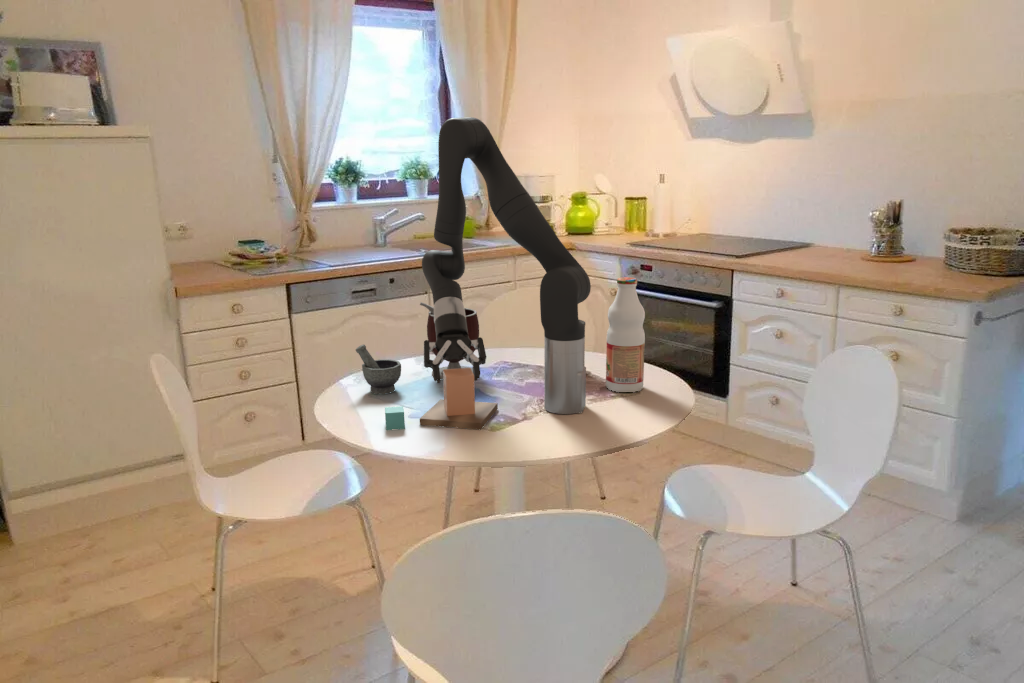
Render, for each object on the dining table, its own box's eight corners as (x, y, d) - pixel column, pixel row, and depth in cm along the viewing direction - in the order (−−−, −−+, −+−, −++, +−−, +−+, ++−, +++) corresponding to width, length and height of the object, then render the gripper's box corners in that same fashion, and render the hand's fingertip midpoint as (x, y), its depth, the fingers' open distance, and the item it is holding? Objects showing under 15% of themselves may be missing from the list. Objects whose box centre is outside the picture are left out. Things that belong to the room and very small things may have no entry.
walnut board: (497, 409, 180) (497, 403, 180) (480, 429, 167) (480, 423, 167) (440, 405, 184) (440, 399, 183) (419, 425, 170) (419, 418, 170)
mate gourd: (479, 366, 217) (478, 296, 212) (480, 380, 203) (478, 306, 198) (424, 368, 216) (421, 297, 211) (421, 382, 202) (418, 307, 198)
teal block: (403, 423, 172) (403, 406, 171) (404, 429, 168) (404, 411, 167) (385, 424, 171) (384, 407, 170) (386, 430, 167) (385, 413, 166)
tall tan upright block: (470, 405, 179) (470, 367, 176) (475, 413, 173) (474, 375, 171) (444, 407, 177) (442, 369, 175) (447, 415, 172) (446, 377, 169)
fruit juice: (625, 396, 189) (628, 283, 182) (597, 387, 196) (599, 278, 189) (651, 388, 195) (654, 278, 188) (623, 380, 202) (625, 274, 195)
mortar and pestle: (405, 385, 200) (403, 340, 197) (399, 396, 191) (397, 349, 188) (361, 385, 200) (359, 340, 197) (353, 396, 191) (351, 349, 188)
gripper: (420, 313, 179) (426, 374, 171) (481, 310, 181) (490, 370, 173) (419, 330, 185) (425, 390, 177) (478, 327, 188) (487, 386, 180)
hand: (457, 380), depth 175 cm, fingers open, 8 cm apart
